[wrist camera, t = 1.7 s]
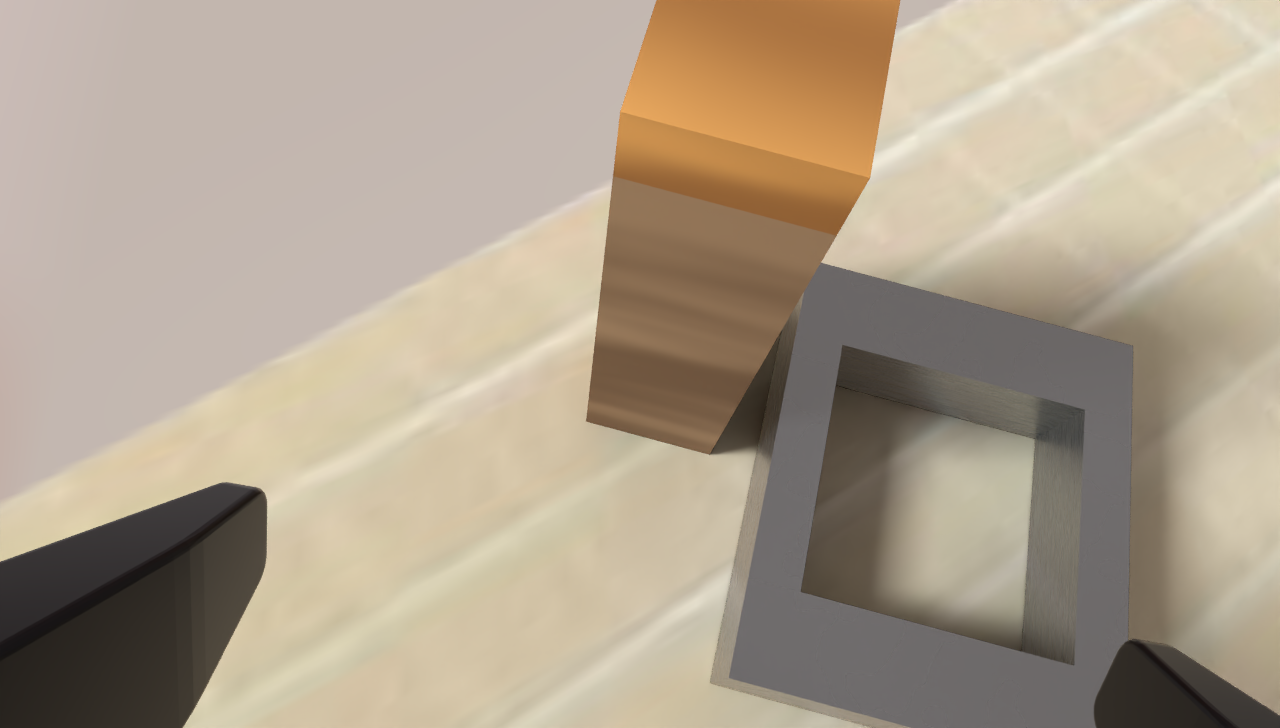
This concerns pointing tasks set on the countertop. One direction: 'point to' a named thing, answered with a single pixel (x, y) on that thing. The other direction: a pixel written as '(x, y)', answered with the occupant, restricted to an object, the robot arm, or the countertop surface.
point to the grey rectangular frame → (1059, 521)
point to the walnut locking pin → (728, 198)
